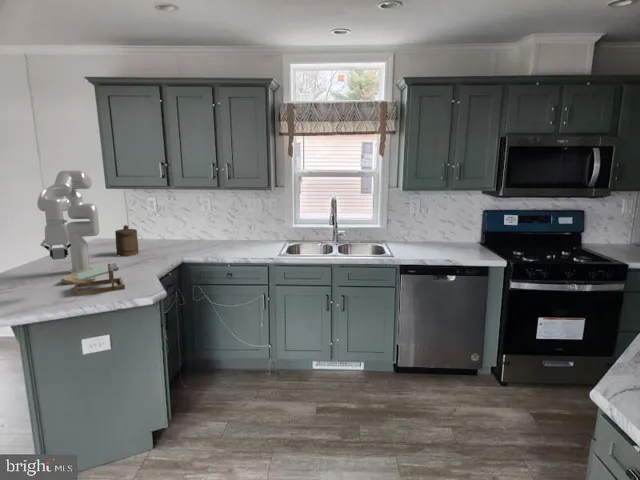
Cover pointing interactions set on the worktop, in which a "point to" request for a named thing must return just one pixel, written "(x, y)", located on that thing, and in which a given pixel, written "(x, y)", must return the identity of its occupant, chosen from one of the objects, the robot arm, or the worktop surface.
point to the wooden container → (126, 241)
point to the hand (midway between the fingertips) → (59, 257)
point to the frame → (97, 290)
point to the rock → (75, 278)
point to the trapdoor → (96, 272)
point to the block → (58, 253)
